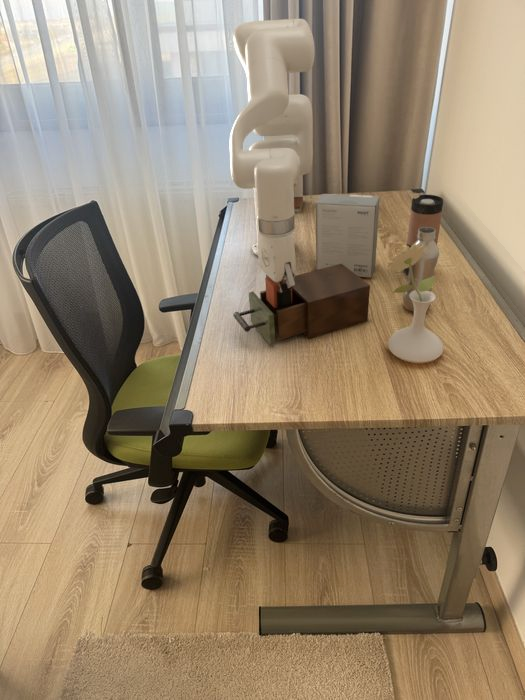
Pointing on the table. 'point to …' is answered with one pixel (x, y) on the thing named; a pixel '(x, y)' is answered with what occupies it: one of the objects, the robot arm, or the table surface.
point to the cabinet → (332, 299)
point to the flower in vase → (415, 314)
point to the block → (273, 291)
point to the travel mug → (424, 217)
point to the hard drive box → (347, 232)
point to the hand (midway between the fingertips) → (279, 300)
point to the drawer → (275, 317)
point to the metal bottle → (422, 263)
